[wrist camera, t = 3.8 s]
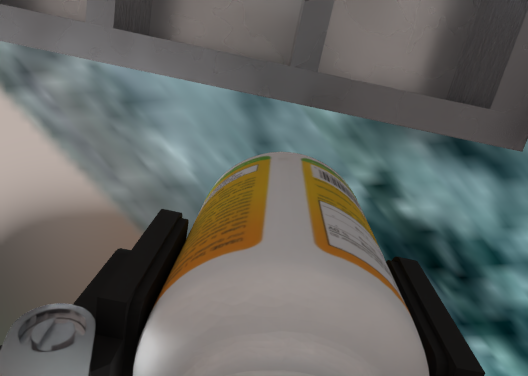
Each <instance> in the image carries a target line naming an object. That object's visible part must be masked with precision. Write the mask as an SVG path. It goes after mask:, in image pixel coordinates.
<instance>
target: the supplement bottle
mask: <svg viewBox="0 0 528 376" xmlns="http://www.w3.org/2000/svg"><path fill="white" fill-rule="evenodd" d="M133 376H429V368H428V364H427V360H426V356H425V352H424V349H423V346H422V343H421V340H420V337H419V334H418V332H417V329H416V327H415V324H414V322H413V319H412V317H411V315H410V312H409V310H408V308H407V306H406V304H405V302H404V300H403V298H402V296H401V294H400V292H399V289H398V287H397V285H396V283H395V281H394V279H393V276H392V274H391V272H390V270H389V268H388V266H387V264H386V261H385V259H384V257H383V254H382V252H381V250H380V248H379V246H378V244H377V241H376V239H375V237H374V235H373V233H372V231H371V229H370V227H369V224H368V222H367V220H366V218H365V215H364V213H363V211H362V209H361V207H360V205H359V203H358V201H357V199H356V197H355V196H354V194H353V192H352V191H351V189H350V187H349V186H348V184H347V183H346V182H345V181H344V180H343V178H342V177H341V176H340V175H339V174H338V173H337V172H335V171H334V170H333V169H332V168H330V167H329V166H327V165H326V164H324V163H322V162H320V161H318V160H316V159H314V158H311V157H308V156H305V155H302V154H297V153H290V152H273V153H266V154H261V155H258V156H254V157H252V158H249V159H247V160H245V161H242V162H241V163H239V164H237V165H235V166H234V167H232V168H231V169H230V170H228V171H227V172H226V173H225V174H224V175H223V176H222V177H221V178H220V179H219V180H218V181H217V182H216V184H215V185H214V186H213V188H212V190H211V191H210V193H209V194H208V196H207V198H206V200H205V202H204V204H203V206H202V208H201V210H200V212H199V215H198V217H197V219H196V221H195V223H194V225H193V227H192V229H191V231H190V233H189V235H188V237H187V239H186V241H185V243H184V245H183V247H182V249H181V251H180V253H179V255H178V257H177V260H176V262H175V264H174V266H173V268H172V270H171V272H170V274H169V276H168V278H167V280H166V282H165V284H164V286H163V288H162V290H161V292H160V294H159V296H158V298H157V300H156V302H155V304H154V306H153V309H152V311H151V313H150V315H149V317H148V319H147V322H146V324H145V327H144V329H143V331H142V334H141V336H140V339H139V342H138V346H137V350H136V354H135V360H134V366H133Z"/></svg>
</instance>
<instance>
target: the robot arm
mask: <svg viewBox="0 0 528 376" xmlns="http://www.w3.org/2000/svg"><path fill="white" fill-rule="evenodd" d="M187 229H188V219H183V218H182V213H179V212H175V211H170V210H165V209H161V210H160V212H159V213H158V214H157V216H156V217H155V218H154V220H153V221H152V223H151V224H150V225H149V227H148V228H147V229H146V231H145V232H144V233H143V235H142V236H141V238H140V239H139V240H138V242H137V243H136V244H135V246H134V247H133V249H132V250H127V249H122V248H120V249H118V250H117V251H115V253H114V254H113V255H112V257H111V258H110V259H109V260H108V261H107V263H106V264H105V265H104V266H103V268H102V269H101V270H100V271H99V273H98V274H97V275H96V277H95V278H94V279H93V280H92V281H91V283H90V284H89V285H88V286H87V288H86V289H85V290H84V291H83V293H82V294H81V295H80V296H79V298H78V299H77V300H76V301H75V303H74V304H61V303H60V304H50V305H45V306H42V307H38V308H35V309H33V310H31V311H29V312H27V313H25V314H24V315H22V316H21V317H20V318H19V319H17V320H16V321H15V322H14V324H13V325H12V326H11V328H10V330H9V331H8V334H7V336H6V338H5V341H4V343H3V345H1V346H0V376H133V366H134V360H135V354H136V350H137V346H138V342H139V339H140V336H141V334H142V331H143V329H144V327H145V324H146V322H147V319H148V317H149V315H150V313H151V311H152V309H153V306H154V304H155V302H156V300H157V298H158V296H159V294H160V292H161V290H162V288H163V286H164V284H165V282H166V280H167V278H168V276H169V274H170V272H171V270H172V268H173V266H174V264H175V262H176V260H177V257H178V255H179V253H180V251H181V249H182V247H183V245H184V243H185V241H186V236H187ZM386 264H387V266H388V268H389V270H390V272H391V274H392V276H393V279H394V281H395V283H396V285H397V287H398V289H399V292H400V294H401V296H402V298H403V300H404V302H405V304H406V306H407V308H408V310H409V312H410V315H411V317H412V319H413V322H414V324H415V327H416V329H417V332H418V334H419V337H420V340H421V343H422V346H423V349H424V352H425V356H426V360H427V364H428V368H429V376H484V375H485V372H484V370H483V369H482V367H481V366H480V364H479V362H478V361H477V359H476V357H475V356H474V354H473V352H472V351H471V349H470V347H469V346H468V344H467V342H466V341H465V339H464V337H463V336H462V334H461V333H460V331H459V329H458V328H457V326H456V324H455V323H454V321H453V319H452V318H451V316H450V314H449V313H448V311H447V309H446V308H445V306H444V304H443V303H442V301H441V300H440V298H439V296H438V295H437V293H436V291H435V290H434V288H433V286H432V285H431V283H430V281H429V280H428V278H427V276H426V275H425V273H424V271H423V270H422V268H421V267H420V265H419V263H418V262H417V261H415V260H410V259H405V258H401V257H394V258H393V260H392V261H390V260H388V261H386Z"/></svg>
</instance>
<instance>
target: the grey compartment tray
mask: <svg viewBox="0 0 528 376" xmlns="http://www.w3.org/2000/svg"><path fill="white" fill-rule="evenodd" d="M0 41H4V42H9V43H13V44H18V45H23V46H28V47H32V48H37V49H42V50H46V51H51V52H56V53H61V54H65V55H70V56H75V57H79V58H84V59H89V60H93V61H98V62H103V63H108V64H112V65H117V66H122V67H126V68H131V69H136V70H141V71H145V72H150V73H155V74H159V75H164V76H169V77H173V78H178V79H183V80H188V81H192V82H197V83H202V84H206V85H211V86H216V87H220V88H225V89H230V90H235V91H239V92H244V93H249V94H253V95H258V96H263V97H268V98H272V99H277V100H282V101H286V102H291V103H296V104H300V105H305V106H310V107H315V108H319V109H324V110H329V111H333V112H338V113H343V114H348V115H352V116H357V117H362V118H366V119H371V120H376V121H380V122H385V123H390V124H395V125H399V126H404V127H409V128H413V129H418V130H423V131H427V132H432V133H437V134H442V135H446V136H451V137H456V138H460V139H465V140H470V141H475V142H479V143H484V144H489V145H493V146H498V147H503V148H507V149H512V150H517V151H523V149H524V146H525V144H526V141H527V139H528V0H0Z"/></svg>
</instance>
